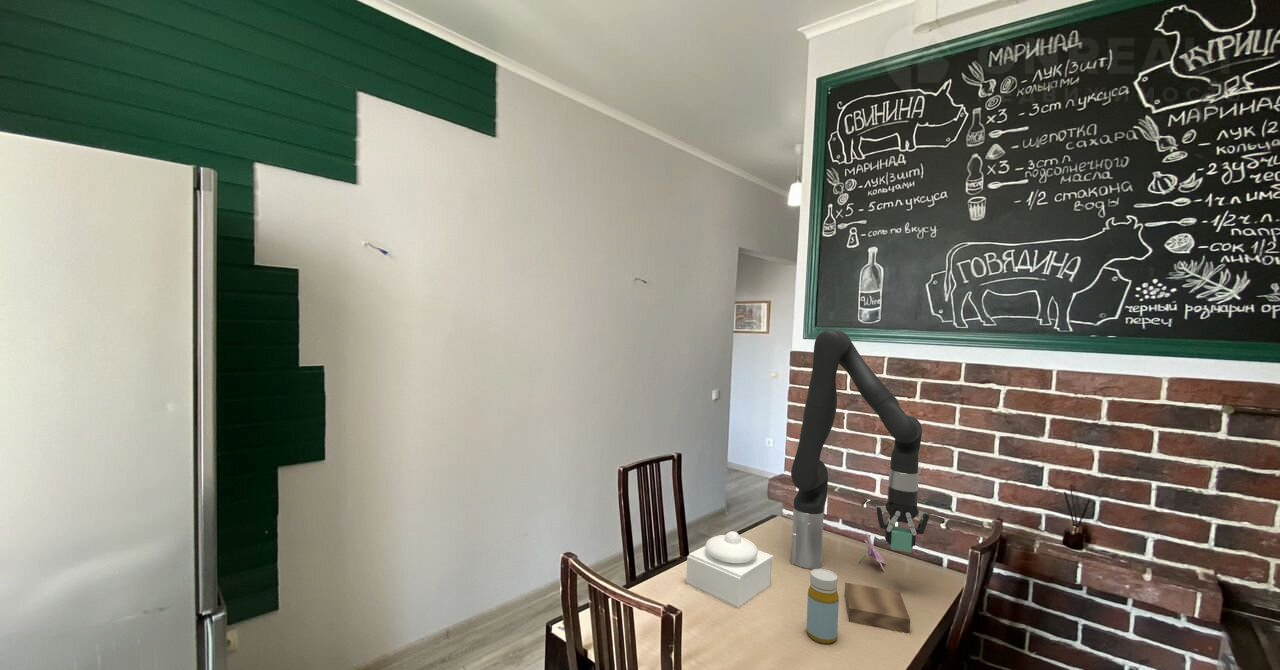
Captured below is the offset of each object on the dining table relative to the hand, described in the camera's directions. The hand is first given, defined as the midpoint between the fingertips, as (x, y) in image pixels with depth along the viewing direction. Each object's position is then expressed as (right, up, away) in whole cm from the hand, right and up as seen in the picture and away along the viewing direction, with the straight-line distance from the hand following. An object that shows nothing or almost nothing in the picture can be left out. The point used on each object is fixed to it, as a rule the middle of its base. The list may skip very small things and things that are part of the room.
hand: (899, 544), depth 144 cm
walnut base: (-12, -14, -11) cm, 22 cm away
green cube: (0, -1, 0) cm, 1 cm away
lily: (0, -14, +16) cm, 22 cm away
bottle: (-30, -13, -22) cm, 40 cm away
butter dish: (-49, -12, +1) cm, 50 cm away
